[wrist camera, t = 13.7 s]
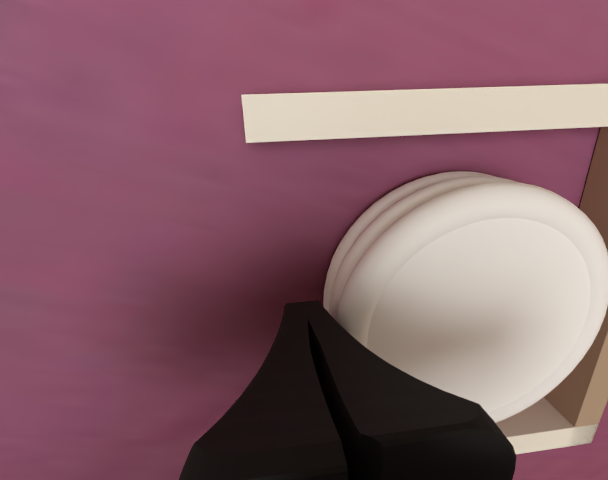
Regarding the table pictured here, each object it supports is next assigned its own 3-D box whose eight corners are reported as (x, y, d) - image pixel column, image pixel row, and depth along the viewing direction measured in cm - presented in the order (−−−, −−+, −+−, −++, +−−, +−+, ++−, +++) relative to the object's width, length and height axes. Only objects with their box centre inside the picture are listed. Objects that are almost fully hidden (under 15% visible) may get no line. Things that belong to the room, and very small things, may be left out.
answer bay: (547, 400, 18) (591, 442, 15) (276, 436, 16) (279, 490, 14) (639, 87, 12) (728, 80, 10) (246, 100, 11) (241, 94, 8)
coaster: (435, 402, 17) (477, 471, 14) (275, 317, 14) (278, 378, 11) (581, 252, 15) (673, 290, 11) (429, 114, 12) (493, 112, 8)
